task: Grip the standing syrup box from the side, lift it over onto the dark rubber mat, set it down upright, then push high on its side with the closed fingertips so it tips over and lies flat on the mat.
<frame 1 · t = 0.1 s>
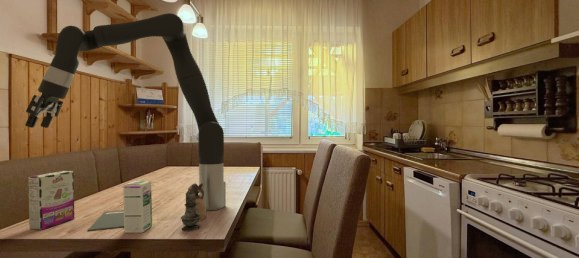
hand: (37, 127, 98), 31 cm above the table, tool tilted 20°, fingers open, 8 cm apart
figurine: (195, 218, 99), on the table
dark grey chess piece: (190, 228, 90), on the table
candy bar box: (52, 224, 94), on the table
syrup box: (138, 230, 88), on the table
mat: (116, 219, 98), on the table
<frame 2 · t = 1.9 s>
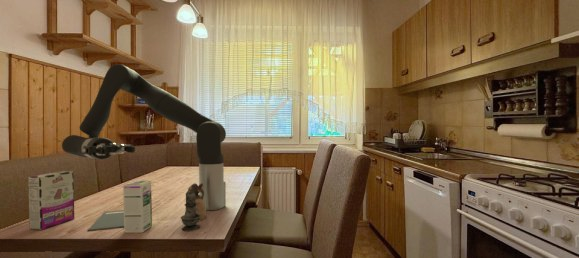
hand: (120, 150, 94), 24 cm above the table, tool horizontal, fingers open, 8 cm apart
nothing on the table moved.
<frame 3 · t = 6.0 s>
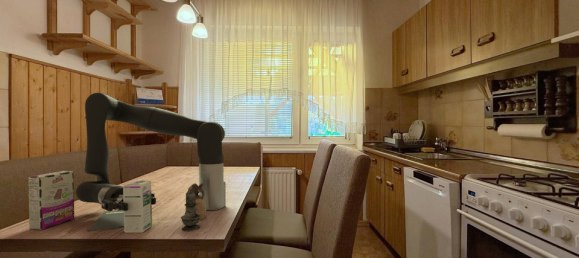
hand: (141, 204, 87), 8 cm above the table, tool horizontal, fingers closed on syrup box, 8 cm apart
syrup box: (138, 230, 88), on the table, touching gripper
everything else where it was.
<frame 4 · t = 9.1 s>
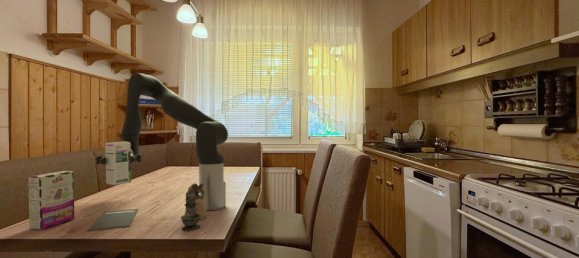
hand: (117, 160, 100), 20 cm above the table, tool horizontal, fingers closed on syrup box, 8 cm apart
syrup box: (118, 183, 102), point 11 cm above the table, touching gripper
everything else where it was.
when the fingers open (9 cm above the table, at t = 12.1 s): syrup box stays where it is, resting on mat.
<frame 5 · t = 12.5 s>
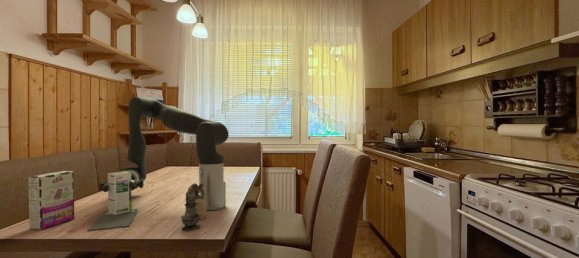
hand: (118, 188, 103), 9 cm above the table, tool horizontal, fingers open, 8 cm apart
syrup box: (119, 212, 105), resting on mat, touching gripper
everything else where it was.
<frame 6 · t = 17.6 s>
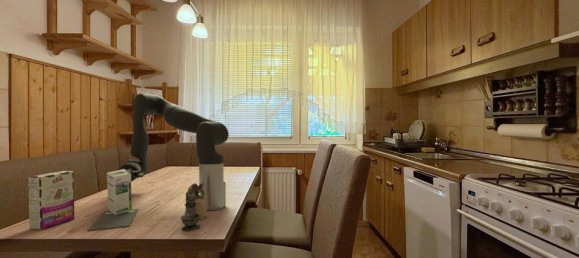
hand: (121, 177, 106), 13 cm above the table, tool horizontal, fingers closed
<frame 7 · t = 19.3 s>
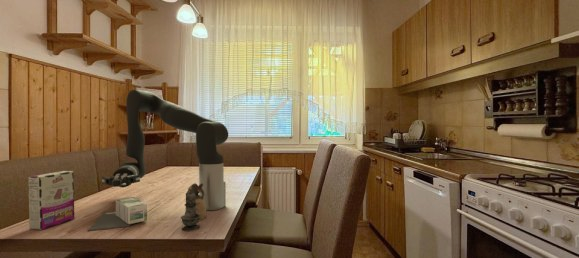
hand: (116, 183, 99), 12 cm above the table, tool horizontal, fingers closed
syrup box: (124, 205, 103), point 3 cm above the table, touching mat
everything else where it was.
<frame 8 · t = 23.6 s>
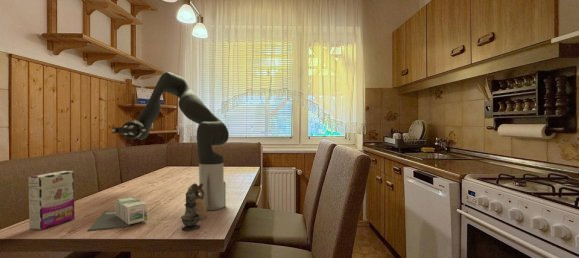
hand: (125, 130, 114), 30 cm above the table, tool horizontal, fingers closed
nothing on the table moved.
at the end: syrup box tilted 90°; syrup box inside the target area (6.0 cm from its centre), point 3.4 cm above the table; syrup box moved 19.9 cm from its start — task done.
